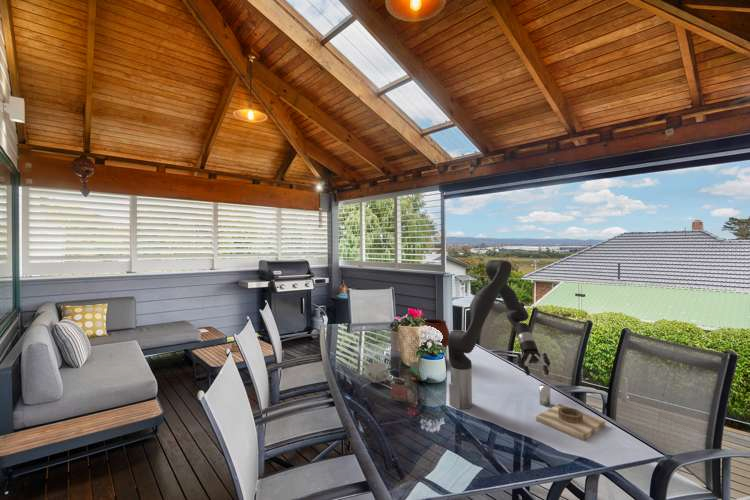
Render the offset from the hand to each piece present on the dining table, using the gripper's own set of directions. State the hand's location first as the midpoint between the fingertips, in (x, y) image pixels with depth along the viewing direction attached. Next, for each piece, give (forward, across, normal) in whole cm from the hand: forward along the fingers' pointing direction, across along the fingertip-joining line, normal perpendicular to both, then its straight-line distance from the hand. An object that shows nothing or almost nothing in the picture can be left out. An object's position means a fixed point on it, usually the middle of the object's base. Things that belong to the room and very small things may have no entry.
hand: (538, 374), depth 163 cm
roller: (+12, 0, +3) cm, 13 cm away
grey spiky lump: (-8, -75, +23) cm, 79 cm away
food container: (-9, -51, +24) cm, 58 cm away
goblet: (-30, -40, +46) cm, 68 cm away
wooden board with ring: (+24, +2, -9) cm, 26 cm away
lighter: (+7, -65, +8) cm, 66 cm away
